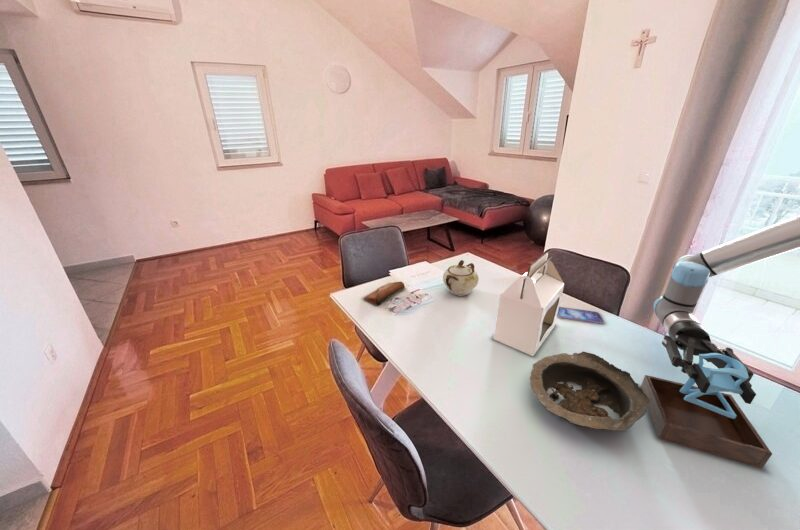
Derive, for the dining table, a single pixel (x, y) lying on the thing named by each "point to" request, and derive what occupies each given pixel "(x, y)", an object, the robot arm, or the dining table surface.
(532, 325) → the gable box
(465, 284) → the sugar bowl
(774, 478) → the dining table surface
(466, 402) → the dining table surface
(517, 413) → the dining table surface
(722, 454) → the wooden tray
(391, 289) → the sunglasses case
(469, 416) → the dining table surface
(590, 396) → the stone bowl
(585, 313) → the smartphone
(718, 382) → the chair
